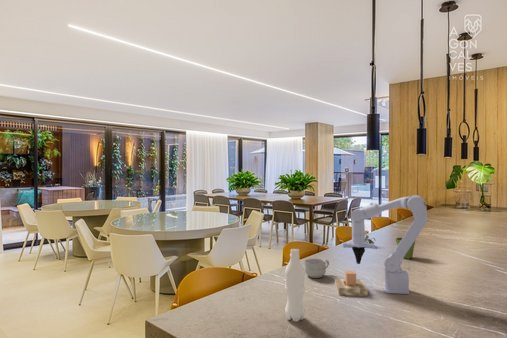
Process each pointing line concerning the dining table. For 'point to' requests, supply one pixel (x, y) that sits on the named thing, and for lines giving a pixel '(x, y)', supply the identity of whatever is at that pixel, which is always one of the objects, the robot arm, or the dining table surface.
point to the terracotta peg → (350, 278)
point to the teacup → (316, 267)
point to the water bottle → (294, 287)
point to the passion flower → (368, 239)
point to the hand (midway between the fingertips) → (358, 263)
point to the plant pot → (410, 251)
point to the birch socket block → (351, 288)
